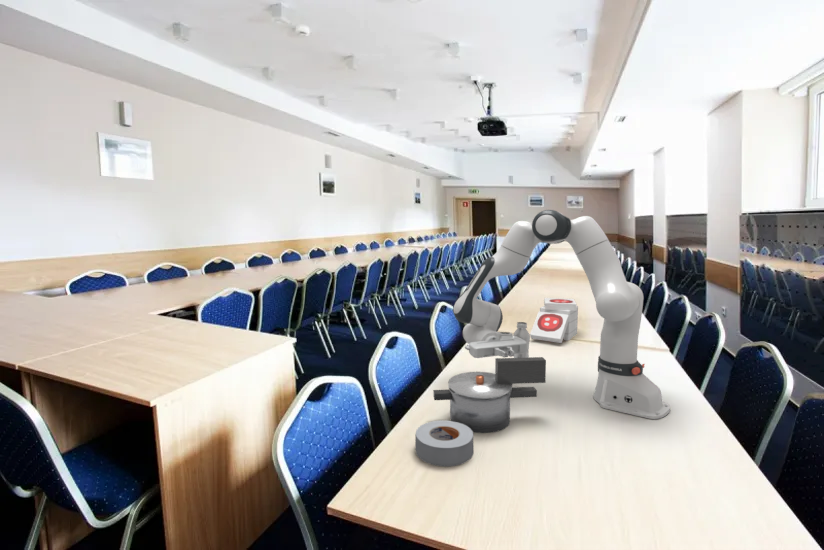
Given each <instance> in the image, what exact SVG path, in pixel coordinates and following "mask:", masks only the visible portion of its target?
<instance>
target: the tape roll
mask: <svg viewBox="0 0 824 550" xmlns="http://www.w3.org/2000/svg"><path fill="white" fill-rule="evenodd" d="M414 435H415V439H414V440H415V442H414V443H415V455H416V456H417V457H418V458H419V460H422V462H424V463H426V464H428V465H431V466H432V465H433V466H436V467H437V466H438V467H455V466H460V465H462V464H464V463H467V462H469V460H471V459H472V458H473V456H474V432H473V431H472V430H471V429H470V428H469V427H468V426H466V425H464V424H461V423H458V422H453V421H451V420H440V419H439V420H433V421H429V422H426V423H423V424H421V425H420V426H419V427H417V429H416V431H415V433H414Z"/></svg>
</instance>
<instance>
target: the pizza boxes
mask: <svg viewBox="0 0 824 550" xmlns="http://www.w3.org/2000/svg"><path fill="white" fill-rule="evenodd" d="M543 304H544V305H543V306H541V307H539V311H538V312H537V314H536V318H535V320H534V322H533V325H532V328H531V330H530V333H529V334H530V339H533V340H539V341H544V342H545V341H547V342H552V343H553V342H554V343H559V344H562V342H563V341H568V340H569V341H570V340H571V339H573V338H574V337H575V336H576V334H577V335H578V321H579V320H578V319H579V317H578V316H579V306H578V305H577V302H576V300H575V299H574V298H564V297H563V298H559V297H558V298H557V297H556V298H555V297H544V300H543ZM573 336H574V337H573ZM572 337H573V338H572ZM563 339H564V340H563Z"/></svg>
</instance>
